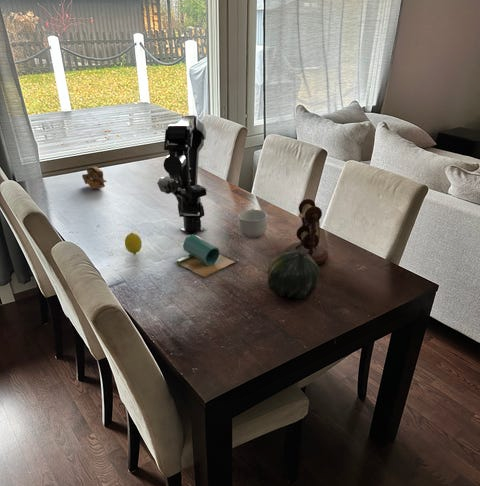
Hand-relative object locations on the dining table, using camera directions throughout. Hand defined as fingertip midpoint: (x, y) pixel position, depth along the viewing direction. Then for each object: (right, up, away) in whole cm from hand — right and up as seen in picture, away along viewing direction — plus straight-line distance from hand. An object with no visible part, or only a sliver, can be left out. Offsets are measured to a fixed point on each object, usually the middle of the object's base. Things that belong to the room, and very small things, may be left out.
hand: (183, 210), depth 149 cm
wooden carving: (-50, +21, +59) cm, 80 cm away
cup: (+3, -11, -2) cm, 12 cm away
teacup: (+25, -6, +16) cm, 30 cm away
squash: (+35, -28, -20) cm, 49 cm away
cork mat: (+9, -18, -5) cm, 21 cm away
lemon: (-17, -15, +1) cm, 23 cm away
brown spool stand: (+42, -17, -1) cm, 45 cm away
